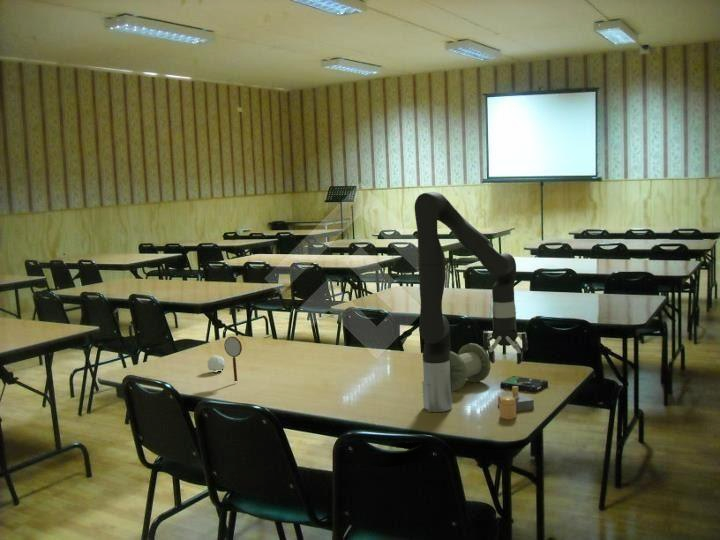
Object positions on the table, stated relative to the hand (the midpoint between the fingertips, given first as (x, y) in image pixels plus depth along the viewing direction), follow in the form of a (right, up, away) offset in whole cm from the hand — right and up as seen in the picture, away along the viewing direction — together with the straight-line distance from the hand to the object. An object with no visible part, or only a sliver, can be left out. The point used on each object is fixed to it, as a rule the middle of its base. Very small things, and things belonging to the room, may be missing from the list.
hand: (506, 363), depth 245 cm
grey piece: (+6, -17, +12) cm, 21 cm away
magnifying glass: (-100, -17, +67) cm, 122 cm away
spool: (-8, -14, +43) cm, 46 cm away
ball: (-112, -15, +89) cm, 144 cm away
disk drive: (+14, -14, +35) cm, 40 cm away
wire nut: (+1, -18, +2) cm, 18 cm away
